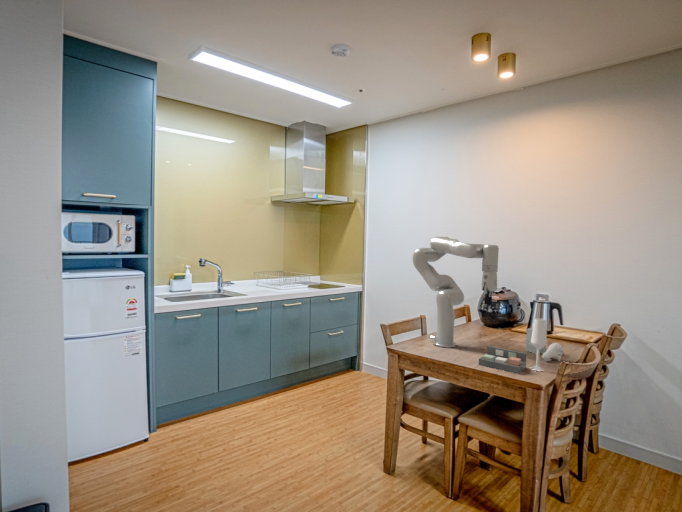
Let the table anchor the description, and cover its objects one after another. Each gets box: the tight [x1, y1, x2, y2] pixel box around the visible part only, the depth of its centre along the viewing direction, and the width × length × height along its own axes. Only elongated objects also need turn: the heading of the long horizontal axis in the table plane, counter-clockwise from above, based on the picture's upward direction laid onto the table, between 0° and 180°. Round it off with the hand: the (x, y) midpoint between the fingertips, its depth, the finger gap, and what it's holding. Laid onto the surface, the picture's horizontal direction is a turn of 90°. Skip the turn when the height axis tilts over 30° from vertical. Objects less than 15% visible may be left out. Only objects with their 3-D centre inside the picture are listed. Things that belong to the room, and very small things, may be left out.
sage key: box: [481, 353, 495, 360], centre depth 194 cm, size 4×4×2 cm
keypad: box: [478, 345, 528, 374], centre depth 192 cm, size 18×12×7 cm, turn 50°
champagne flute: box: [529, 317, 548, 371], centre depth 188 cm, size 7×7×24 cm
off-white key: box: [495, 357, 508, 363], centre depth 190 cm, size 4×4×2 cm
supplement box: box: [525, 327, 548, 355], centre depth 219 cm, size 7×7×13 cm
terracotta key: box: [508, 357, 521, 366], centre depth 187 cm, size 4×4×2 cm
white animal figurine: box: [541, 342, 564, 362], centre depth 204 cm, size 6×8×12 cm
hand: (487, 304), depth 207 cm, fingers closed
